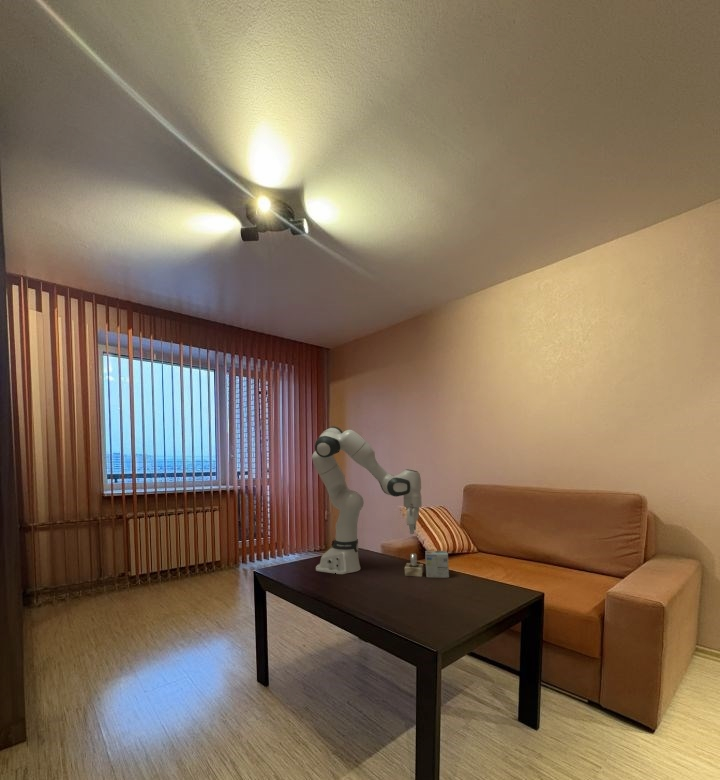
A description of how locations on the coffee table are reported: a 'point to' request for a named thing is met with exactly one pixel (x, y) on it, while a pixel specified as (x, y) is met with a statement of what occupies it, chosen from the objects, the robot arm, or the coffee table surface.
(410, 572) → the hole block
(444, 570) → the light bulb box
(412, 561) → the peg
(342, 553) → the robot arm
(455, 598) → the coffee table surface
